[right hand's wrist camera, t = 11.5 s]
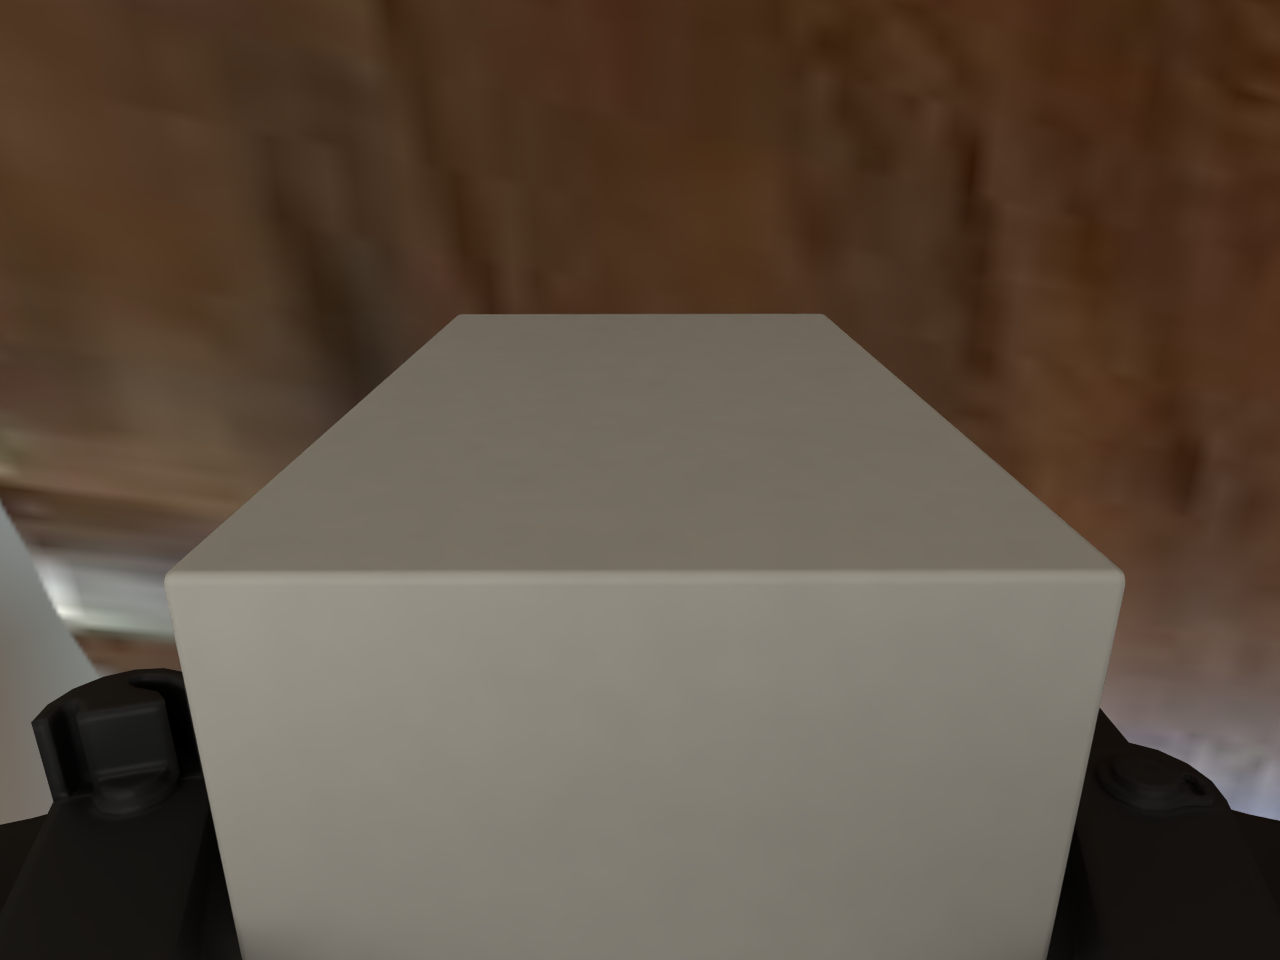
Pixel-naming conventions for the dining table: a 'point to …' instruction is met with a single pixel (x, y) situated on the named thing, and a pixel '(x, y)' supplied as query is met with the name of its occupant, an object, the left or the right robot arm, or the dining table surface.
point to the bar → (644, 661)
